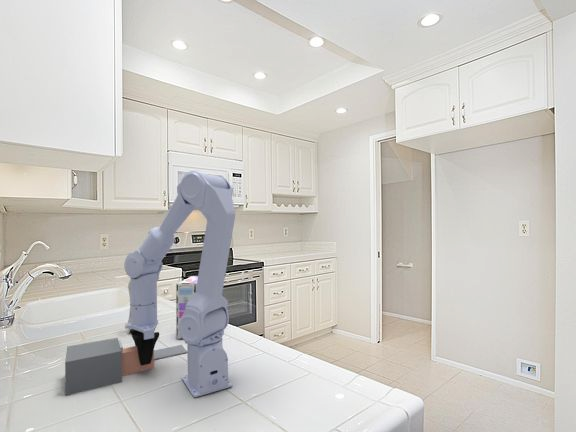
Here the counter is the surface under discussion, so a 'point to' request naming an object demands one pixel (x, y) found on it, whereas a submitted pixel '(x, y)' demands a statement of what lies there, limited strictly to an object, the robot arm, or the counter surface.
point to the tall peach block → (133, 361)
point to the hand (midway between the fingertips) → (144, 361)
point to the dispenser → (93, 365)
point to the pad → (169, 352)
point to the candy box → (184, 298)
